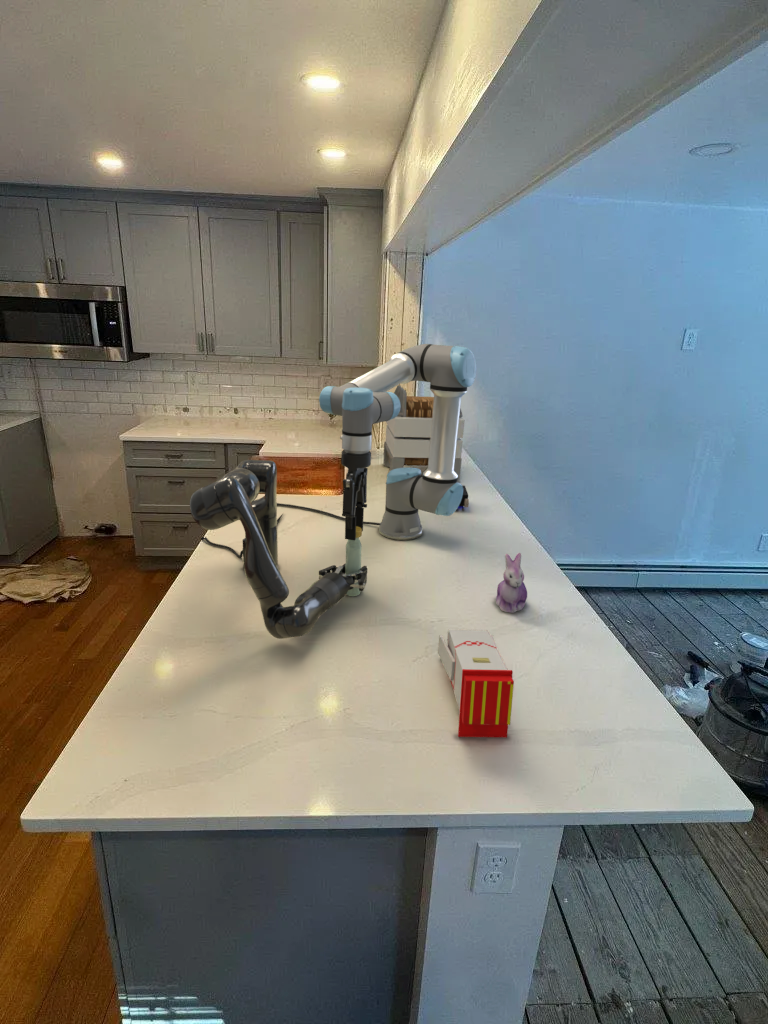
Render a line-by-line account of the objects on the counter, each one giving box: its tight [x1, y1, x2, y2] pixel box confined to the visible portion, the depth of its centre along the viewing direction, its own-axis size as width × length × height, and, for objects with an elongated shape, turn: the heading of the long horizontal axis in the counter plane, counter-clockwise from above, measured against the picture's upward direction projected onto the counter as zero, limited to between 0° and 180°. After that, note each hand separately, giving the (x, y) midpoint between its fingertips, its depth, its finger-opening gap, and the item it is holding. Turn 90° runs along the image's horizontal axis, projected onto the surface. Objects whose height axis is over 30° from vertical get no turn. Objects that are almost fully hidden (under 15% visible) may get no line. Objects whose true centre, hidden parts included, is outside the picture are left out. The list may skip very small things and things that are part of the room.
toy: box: [437, 628, 515, 738], centre depth 117 cm, size 12×13×30 cm
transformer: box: [383, 384, 465, 483], centre depth 268 cm, size 34×33×41 cm
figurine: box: [495, 552, 528, 614], centre depth 152 cm, size 9×10×15 cm
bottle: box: [344, 537, 363, 597], centre depth 154 cm, size 4×4×18 cm
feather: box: [277, 513, 284, 525], centre depth 210 cm, size 2×28×2 cm
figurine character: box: [455, 484, 470, 512], centre depth 229 cm, size 7×8×15 cm
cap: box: [356, 526, 363, 539], centre depth 151 cm, size 4×4×2 cm
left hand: (357, 567), depth 158 cm, fingers closed on bottle, 4 cm apart
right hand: (354, 534), depth 152 cm, fingers open, 6 cm apart
